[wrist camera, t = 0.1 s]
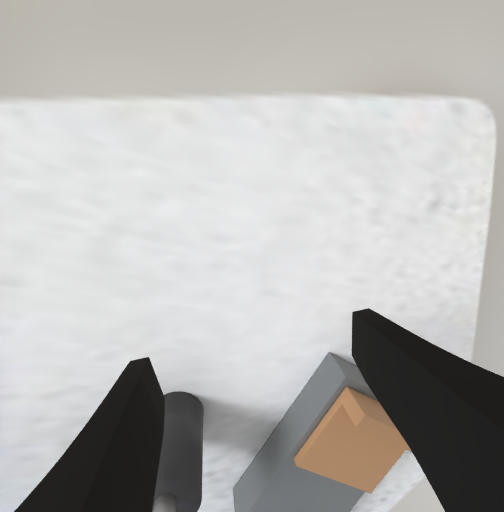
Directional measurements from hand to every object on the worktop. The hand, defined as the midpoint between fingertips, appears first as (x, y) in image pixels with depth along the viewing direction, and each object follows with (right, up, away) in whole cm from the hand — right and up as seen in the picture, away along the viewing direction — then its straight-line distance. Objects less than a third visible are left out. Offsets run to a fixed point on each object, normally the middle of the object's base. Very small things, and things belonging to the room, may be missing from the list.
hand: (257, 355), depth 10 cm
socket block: (+5, -12, +15) cm, 20 cm away
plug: (-6, -9, +12) cm, 16 cm away
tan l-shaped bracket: (+8, -10, +12) cm, 17 cm away
